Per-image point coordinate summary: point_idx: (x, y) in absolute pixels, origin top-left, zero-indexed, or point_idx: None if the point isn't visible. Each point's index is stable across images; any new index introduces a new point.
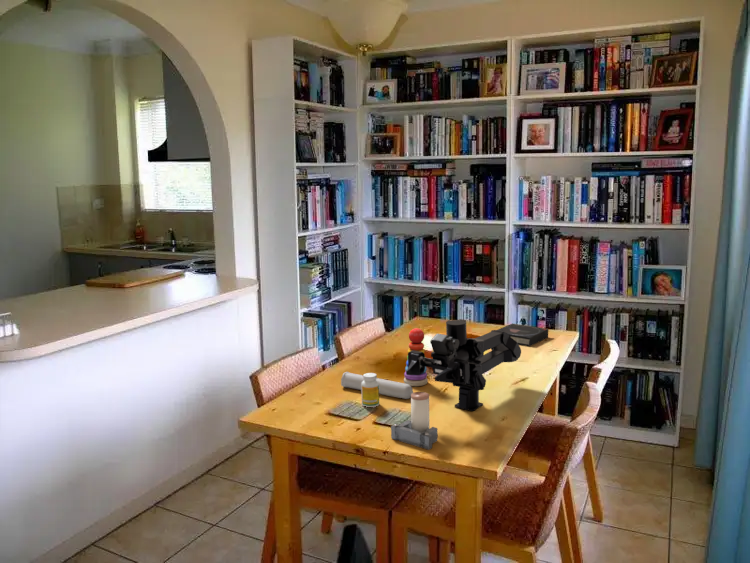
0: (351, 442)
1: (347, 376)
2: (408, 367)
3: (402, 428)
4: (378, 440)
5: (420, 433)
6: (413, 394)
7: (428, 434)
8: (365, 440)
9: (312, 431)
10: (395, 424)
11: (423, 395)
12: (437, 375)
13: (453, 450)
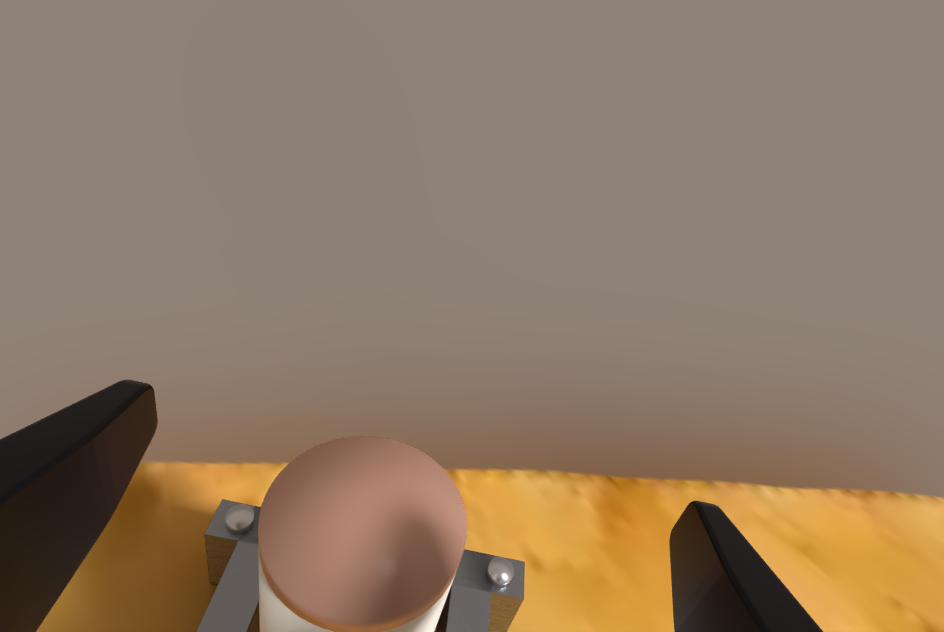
0: (637, 487)
1: None
2: (793, 597)
3: None
4: (549, 554)
5: None
6: (439, 506)
7: (227, 513)
8: (603, 529)
9: (862, 524)
10: (505, 571)
11: (324, 516)
12: (96, 413)
13: None
